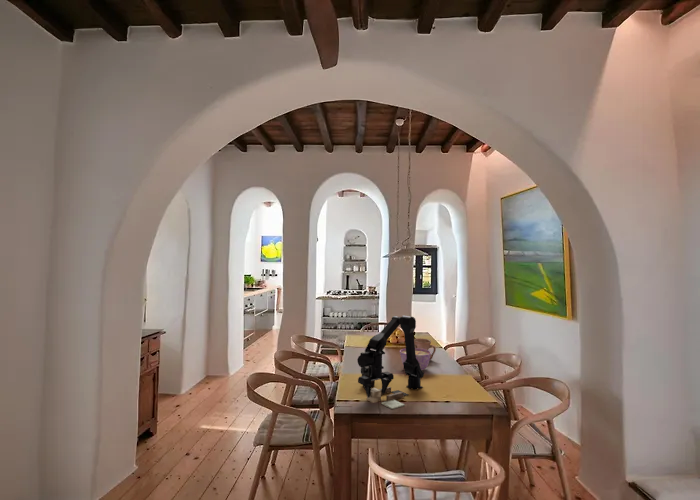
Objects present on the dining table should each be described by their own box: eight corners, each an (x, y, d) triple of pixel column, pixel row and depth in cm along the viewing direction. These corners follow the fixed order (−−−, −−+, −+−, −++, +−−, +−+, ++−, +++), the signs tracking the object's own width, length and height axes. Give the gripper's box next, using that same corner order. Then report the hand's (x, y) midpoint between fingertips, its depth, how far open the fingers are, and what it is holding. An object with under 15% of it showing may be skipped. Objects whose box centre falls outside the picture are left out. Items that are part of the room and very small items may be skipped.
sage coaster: (393, 400, 193) (393, 399, 193) (404, 405, 186) (404, 404, 186) (381, 403, 188) (381, 402, 188) (392, 409, 182) (392, 407, 182)
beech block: (374, 397, 197) (374, 387, 197) (380, 400, 193) (381, 390, 193) (366, 399, 194) (366, 389, 194) (372, 402, 190) (373, 392, 190)
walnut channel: (389, 391, 206) (389, 386, 206) (403, 397, 197) (403, 392, 197) (374, 395, 201) (374, 390, 201) (388, 401, 192) (388, 396, 192)
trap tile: (398, 390, 208) (398, 390, 208) (408, 394, 201) (408, 394, 201) (391, 392, 205) (391, 391, 205) (401, 396, 198) (401, 396, 198)
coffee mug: (367, 389, 209) (367, 370, 210) (357, 385, 216) (357, 366, 216) (383, 385, 216) (383, 367, 216) (373, 381, 223) (373, 363, 223)
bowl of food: (429, 366, 257) (429, 348, 257) (432, 375, 237) (433, 355, 237) (399, 364, 259) (399, 347, 259) (399, 373, 239) (400, 354, 239)
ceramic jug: (409, 362, 266) (409, 341, 266) (409, 357, 280) (409, 337, 280) (436, 364, 263) (436, 343, 263) (434, 358, 277) (435, 338, 277)
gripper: (380, 358, 206) (380, 387, 206) (351, 362, 196) (351, 394, 195) (394, 362, 197) (394, 393, 197) (365, 368, 187) (364, 401, 186)
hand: (375, 395), depth 194 cm, fingers open, 9 cm apart
